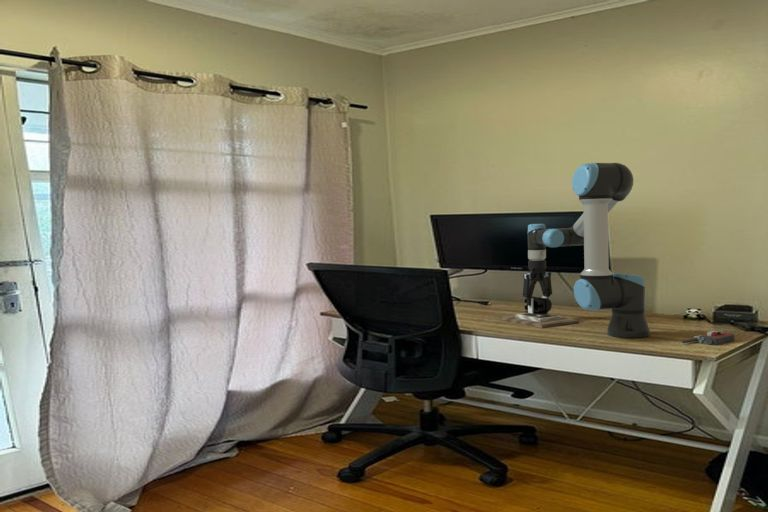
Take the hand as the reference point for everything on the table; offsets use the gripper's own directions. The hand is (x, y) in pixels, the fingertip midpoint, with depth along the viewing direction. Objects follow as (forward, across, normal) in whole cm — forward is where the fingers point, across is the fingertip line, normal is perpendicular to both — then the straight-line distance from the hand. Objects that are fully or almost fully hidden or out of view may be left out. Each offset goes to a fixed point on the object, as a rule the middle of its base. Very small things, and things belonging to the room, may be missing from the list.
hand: (537, 312), depth 284 cm
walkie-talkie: (+4, +16, -71) cm, 73 cm away
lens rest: (+4, 0, 0) cm, 4 cm away
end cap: (+1, 0, 0) cm, 1 cm away
